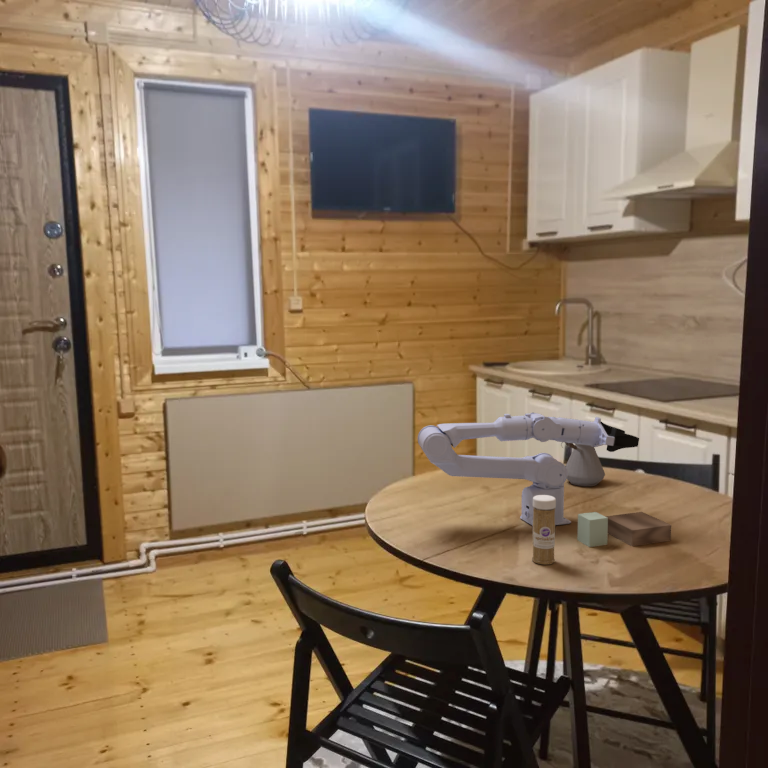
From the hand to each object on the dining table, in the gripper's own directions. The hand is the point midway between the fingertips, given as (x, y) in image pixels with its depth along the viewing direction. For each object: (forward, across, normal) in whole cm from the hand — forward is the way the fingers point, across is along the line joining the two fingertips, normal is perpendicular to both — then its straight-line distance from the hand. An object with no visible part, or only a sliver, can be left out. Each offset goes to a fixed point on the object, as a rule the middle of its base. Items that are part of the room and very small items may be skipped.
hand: (630, 438), depth 168 cm
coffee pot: (+1, +27, +20) cm, 34 cm away
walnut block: (-1, -13, +20) cm, 24 cm away
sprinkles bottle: (-26, -25, +24) cm, 43 cm away
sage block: (-12, -16, +21) cm, 29 cm away
